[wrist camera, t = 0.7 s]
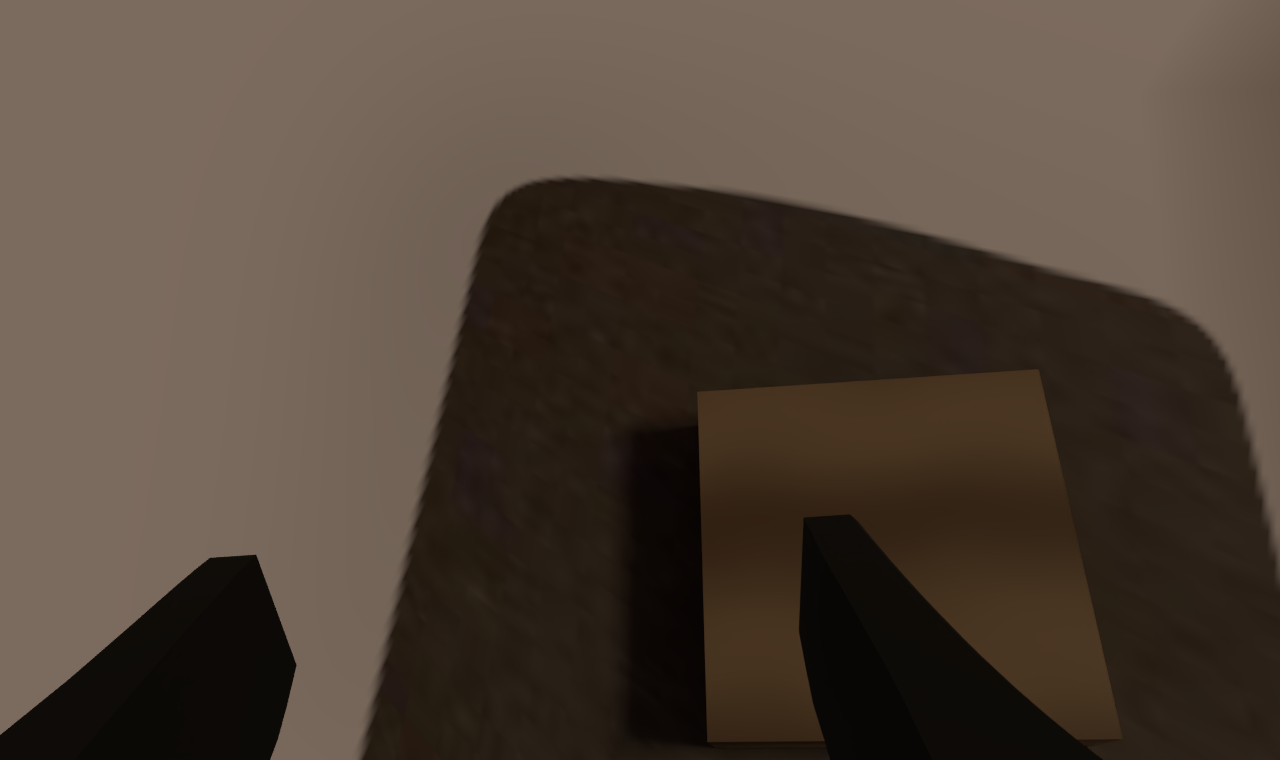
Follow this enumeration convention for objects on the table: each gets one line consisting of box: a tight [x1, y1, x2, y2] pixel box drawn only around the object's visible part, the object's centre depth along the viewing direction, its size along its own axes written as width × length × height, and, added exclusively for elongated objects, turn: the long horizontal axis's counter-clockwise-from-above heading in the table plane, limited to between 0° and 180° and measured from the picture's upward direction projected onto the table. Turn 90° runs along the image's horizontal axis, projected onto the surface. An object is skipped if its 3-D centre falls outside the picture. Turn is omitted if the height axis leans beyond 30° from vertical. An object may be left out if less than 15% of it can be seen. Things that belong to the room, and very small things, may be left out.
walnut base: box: [698, 369, 1123, 748], centre depth 25 cm, size 10×10×2 cm
